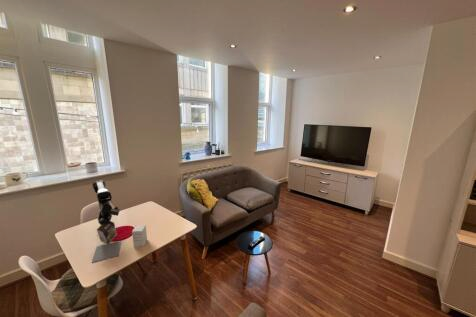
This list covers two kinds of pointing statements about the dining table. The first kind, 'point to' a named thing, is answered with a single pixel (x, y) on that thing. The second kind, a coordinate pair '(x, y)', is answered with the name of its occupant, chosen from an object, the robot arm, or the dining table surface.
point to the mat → (106, 251)
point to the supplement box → (139, 235)
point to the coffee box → (107, 232)
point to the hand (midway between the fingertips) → (108, 226)
